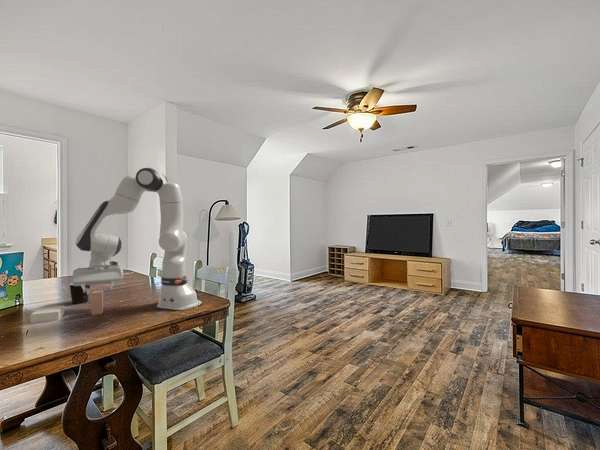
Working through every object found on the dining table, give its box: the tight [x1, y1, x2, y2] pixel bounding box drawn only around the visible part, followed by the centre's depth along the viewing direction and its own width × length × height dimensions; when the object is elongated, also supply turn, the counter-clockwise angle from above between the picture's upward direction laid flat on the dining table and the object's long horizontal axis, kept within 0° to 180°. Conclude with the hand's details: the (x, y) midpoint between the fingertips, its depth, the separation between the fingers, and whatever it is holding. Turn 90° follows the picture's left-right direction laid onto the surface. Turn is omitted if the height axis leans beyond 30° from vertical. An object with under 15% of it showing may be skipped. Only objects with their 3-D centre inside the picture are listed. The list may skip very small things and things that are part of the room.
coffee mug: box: [69, 282, 91, 305], centre depth 146 cm, size 12×9×10 cm
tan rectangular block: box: [91, 290, 104, 316], centre depth 130 cm, size 4×4×10 cm
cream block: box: [30, 305, 65, 324], centre depth 122 cm, size 9×9×4 cm
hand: (97, 291), depth 132 cm, fingers open, 8 cm apart
